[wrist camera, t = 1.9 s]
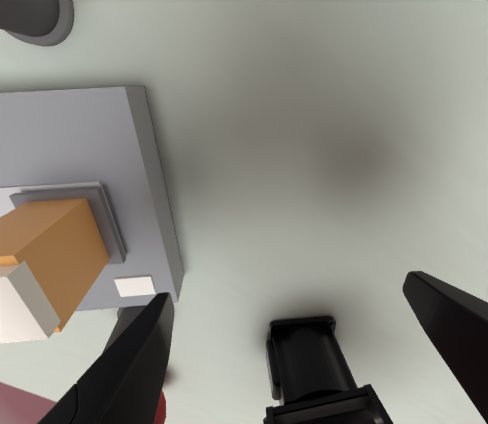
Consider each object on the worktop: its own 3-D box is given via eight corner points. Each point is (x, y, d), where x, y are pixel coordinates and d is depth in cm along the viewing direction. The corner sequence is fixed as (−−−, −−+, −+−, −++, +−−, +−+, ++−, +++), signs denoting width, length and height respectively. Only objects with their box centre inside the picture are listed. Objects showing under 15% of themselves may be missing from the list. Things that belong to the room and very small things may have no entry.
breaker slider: (100, 186, 13) (15, 255, 7) (126, 259, 15) (73, 350, 10) (14, 192, 12) (-134, 266, 7) (53, 265, 15) (-40, 360, 10)
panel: (144, 86, 14) (122, 86, 11) (184, 274, 20) (177, 304, 17) (-153, 102, 13) (-258, 106, 10) (-13, 290, 20) (-54, 324, 17)
